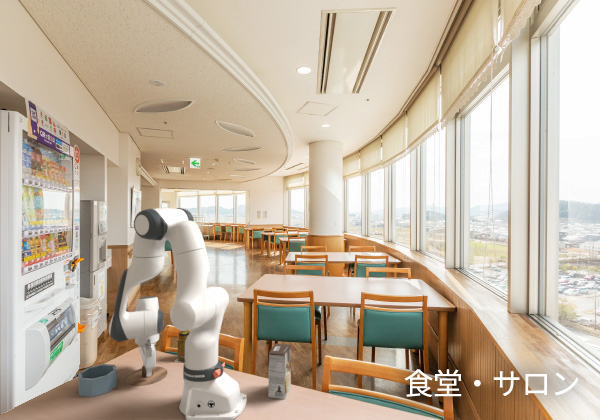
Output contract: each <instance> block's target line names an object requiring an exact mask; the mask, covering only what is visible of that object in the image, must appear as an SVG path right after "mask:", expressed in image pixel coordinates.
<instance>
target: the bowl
mask: <svg viewBox="0 0 600 420" xmlns="http://www.w3.org/2000/svg"><path fill="white" fill-rule="evenodd" d="M117 386H118V368H117V367H116V364H109V363H100V364H99V365H98V364H97V365H93V366H90V367H89V366H88V367H87V368H86V369H84V370H82V371H80V372H78V374H77V391H78V396H79V397H86V398H87V397H88V398H92V397H96V396H100V395H103V394H107V393H109V392H110V391H112V390H113V389H114V388H116V387H117Z"/></svg>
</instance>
